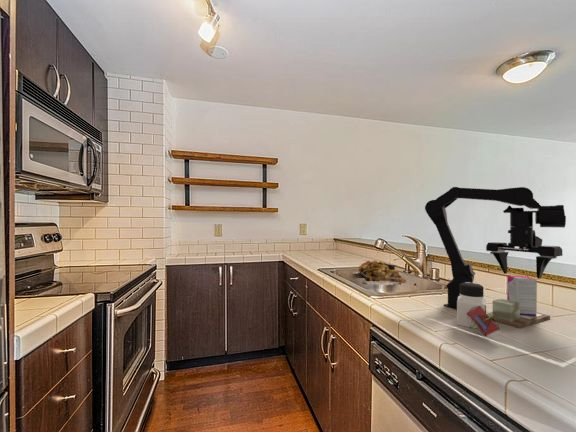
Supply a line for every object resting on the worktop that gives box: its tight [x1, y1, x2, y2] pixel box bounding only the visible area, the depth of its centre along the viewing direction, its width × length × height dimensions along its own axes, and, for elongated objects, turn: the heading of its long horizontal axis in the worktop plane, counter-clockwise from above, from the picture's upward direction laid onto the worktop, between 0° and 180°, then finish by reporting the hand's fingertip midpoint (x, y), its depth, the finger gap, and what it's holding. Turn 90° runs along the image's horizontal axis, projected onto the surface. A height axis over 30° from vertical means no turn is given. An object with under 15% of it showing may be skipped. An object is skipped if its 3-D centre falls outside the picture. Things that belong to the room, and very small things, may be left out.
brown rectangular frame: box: [486, 298, 551, 329], centre depth 94 cm, size 18×10×6 cm, turn 117°
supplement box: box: [506, 275, 538, 316], centre depth 95 cm, size 6×6×12 cm
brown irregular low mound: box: [352, 259, 418, 286], centre depth 156 cm, size 35×26×11 cm
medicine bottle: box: [456, 282, 487, 330], centre depth 89 cm, size 7×7×12 cm
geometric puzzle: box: [466, 306, 501, 337], centre depth 80 cm, size 7×7×8 cm
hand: (521, 275), depth 95 cm, fingers open, 9 cm apart
